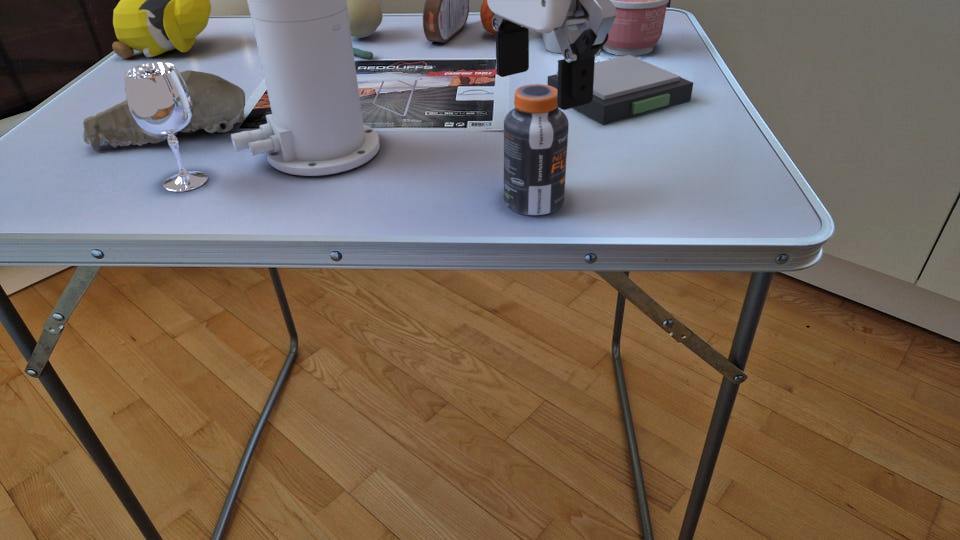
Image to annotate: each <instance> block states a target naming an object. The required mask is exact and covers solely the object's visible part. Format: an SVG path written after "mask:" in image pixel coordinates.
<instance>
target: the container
mask: <svg viewBox="0 0 960 540" xmlns="http://www.w3.org/2000/svg"><path fill="white" fill-rule="evenodd" d="M610 1H611V2H612V3H613V5H614V6H615V8H616V11H617V14H616V17H615V19H614V22H613V24H612V26H611V29H610V31H609V33H608V40H607V42H606V43H605V44H604V45H603V46H602V50H603V51H605V52H606V53H608V54H612V55H616V56H621V57H623V56H627V55H630V56H633V57H638V56H644V55H647V54H649V53H652V51H653V50H654V47H655V46H656V45H657V44H658V43H659V42H660V39H661V38H662V35H663V29H664V23H665V18H666V12H667V4H668V3H669V2H670V0H610Z"/></svg>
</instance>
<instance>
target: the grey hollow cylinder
mask: <svg viewBox="0 0 960 540" xmlns="http://www.w3.org/2000/svg"><path fill="white" fill-rule="evenodd" d="M570 34H571V36H572V39H573V41H574V42H575V41H576V40H577V38H578V37H579V36H580V33H579V30H573V31H570ZM541 37H542V40H543V44H544V48H545V50H546V51H548V52H551V53H555V54H562V51H561V49H560V46H559V43H558V41H557V38H556V35H555V33H554V30H553V31H552V32H550V33H546V34H542V33H541Z"/></svg>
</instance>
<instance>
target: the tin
mask: <svg viewBox="0 0 960 540" xmlns="http://www.w3.org/2000/svg"><path fill="white" fill-rule="evenodd" d="M422 12H423V13H422V28H423V29H422V30H423V34H424V37H425V39H426V40H427V42H436V43H441V44H442V43H446V42H448V41H449V40H450V39H452V38H453V37H454V36H456V35H457V34H458V33H460V32H461V31H462V30H463V29H464V28H465V25H466V24H467V21H468V19H469V14H470V0H424V3H423V9H422Z"/></svg>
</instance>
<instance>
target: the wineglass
mask: <svg viewBox="0 0 960 540" xmlns="http://www.w3.org/2000/svg"><path fill="white" fill-rule="evenodd" d="M180 72H181V71H179V69H178V67H177V66H176V65H175V64H174V63H171V62H165V61H164V62H163V61H162V62H161V61H160V62H159V61H158V62H149V63H143V64H139V65H136V66H133V67H130V68H128V69H127V70H126V71H125V72H124V73H123V77H124V91H125V98H126V100H127V103H128V106H129V110H130V112H131V115H132V117H133V118H134V120H135V122H136V123H137V124H138V125H139V126H140V127H141V128H142V129H144V130H145V131H147V132H150V133H153V134H159V135H168V138H167V139H166V140H167V144H168V146H169V148H170V149H171V151H172V153H173V155H174V157H175V161H176V163H177V166H178V167H177V168H178V173H175V174H173V175H171V176H169V177H168V178H167V179H165V180H164V182H163V185H162V186H163V189H165V190H166V191H168V192H171V193H183V192H188V191H192V190H195V189H197V188H200V187H202V186H203V185H204V184H206V183H207V181H208V179H209V177H208V175H207V174H206V173H205V172H202V171H198V170H190V171H189V170H188V171H187V169H186V168H185V166H184V164H183V161H182V158H181V154H180V144H179V143H180V142H179V139H178V137H177V135H174V133H176V132H177V133H178V132H181V131H180V130H182V129H183V128H185V127H186V126H187V125H188V124H189V123H190V121H191V119H192V116H193V102H192V98H191V95H190V93H189V90H188V88H187V86H186V84H185V82H184V80H183V78H182V76H181V74H180Z"/></svg>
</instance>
